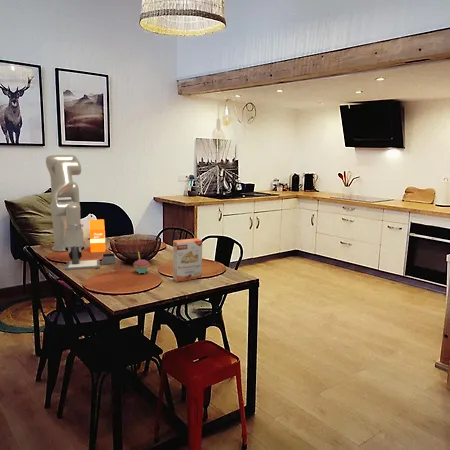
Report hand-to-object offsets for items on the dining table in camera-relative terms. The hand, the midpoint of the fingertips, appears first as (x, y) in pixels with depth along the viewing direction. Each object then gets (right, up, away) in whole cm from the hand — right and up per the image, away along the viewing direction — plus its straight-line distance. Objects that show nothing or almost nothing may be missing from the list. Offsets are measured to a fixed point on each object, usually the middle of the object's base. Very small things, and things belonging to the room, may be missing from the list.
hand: (75, 258), depth 245 cm
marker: (0, -3, +1) cm, 3 cm away
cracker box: (+65, -10, -19) cm, 68 cm away
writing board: (+4, -4, +1) cm, 6 cm away
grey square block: (+17, -3, +7) cm, 18 cm away
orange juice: (+4, +2, +31) cm, 32 cm away
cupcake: (+39, -7, -10) cm, 41 cm away
